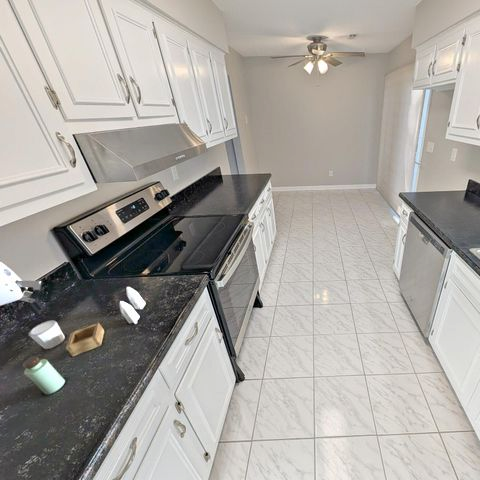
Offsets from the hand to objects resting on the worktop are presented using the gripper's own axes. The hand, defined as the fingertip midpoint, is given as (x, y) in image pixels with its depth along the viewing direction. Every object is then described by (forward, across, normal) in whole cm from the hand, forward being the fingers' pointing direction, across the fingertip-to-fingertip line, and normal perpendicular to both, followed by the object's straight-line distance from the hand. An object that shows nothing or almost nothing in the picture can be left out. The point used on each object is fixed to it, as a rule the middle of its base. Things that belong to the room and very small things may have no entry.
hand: (15, 320), depth 66 cm
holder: (+22, -5, -9) cm, 25 cm away
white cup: (+22, +5, -18) cm, 29 cm away
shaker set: (+22, -20, -16) cm, 34 cm away
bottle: (+22, +1, +4) cm, 23 cm away
